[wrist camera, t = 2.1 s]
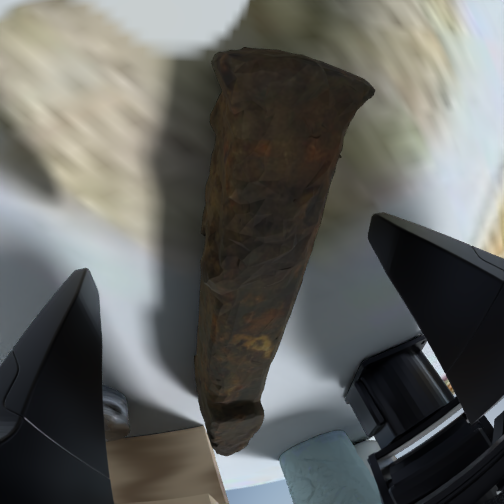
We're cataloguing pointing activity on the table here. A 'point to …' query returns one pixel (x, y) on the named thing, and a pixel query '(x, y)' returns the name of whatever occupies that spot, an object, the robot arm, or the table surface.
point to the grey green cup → (328, 472)
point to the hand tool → (262, 220)
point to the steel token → (115, 414)
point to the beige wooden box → (165, 469)
